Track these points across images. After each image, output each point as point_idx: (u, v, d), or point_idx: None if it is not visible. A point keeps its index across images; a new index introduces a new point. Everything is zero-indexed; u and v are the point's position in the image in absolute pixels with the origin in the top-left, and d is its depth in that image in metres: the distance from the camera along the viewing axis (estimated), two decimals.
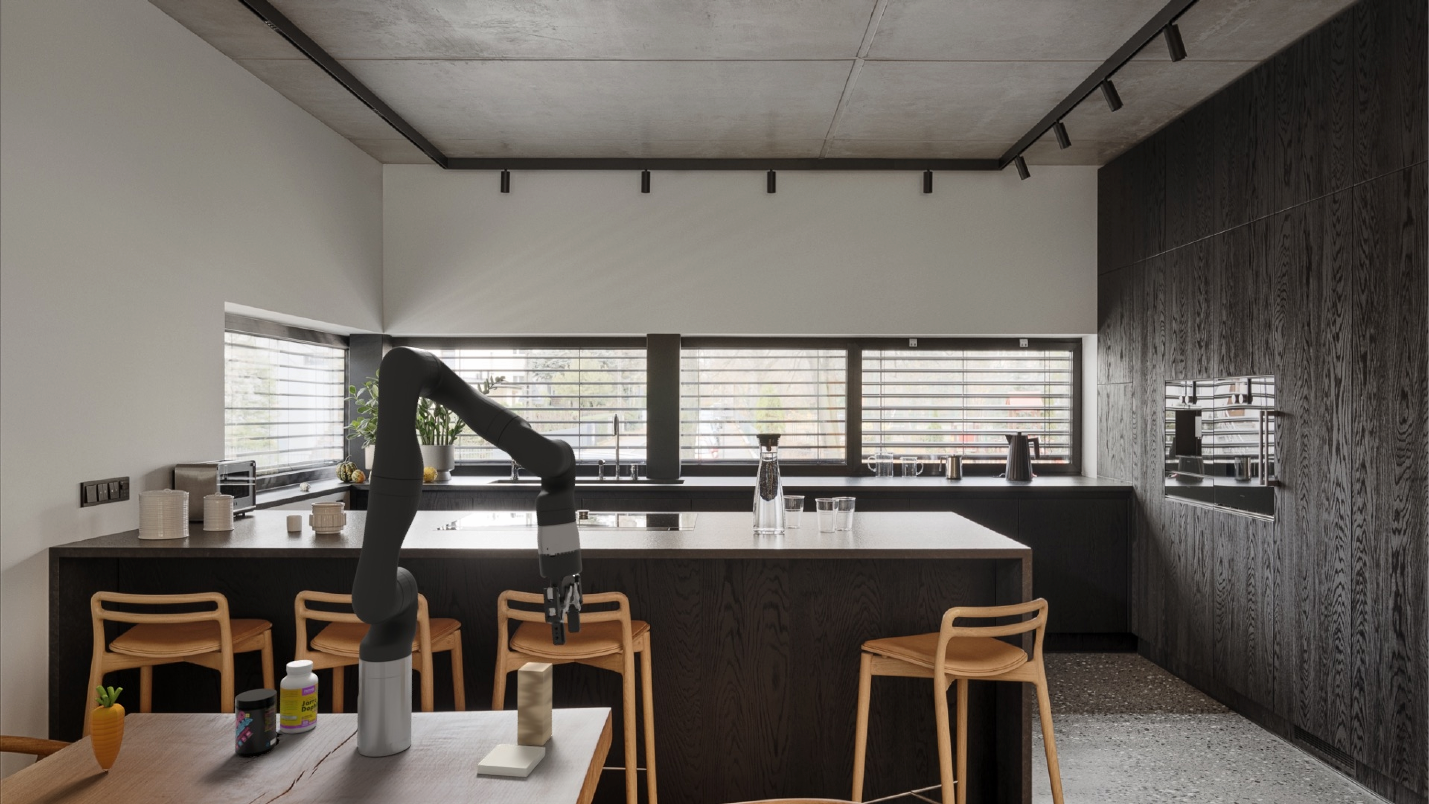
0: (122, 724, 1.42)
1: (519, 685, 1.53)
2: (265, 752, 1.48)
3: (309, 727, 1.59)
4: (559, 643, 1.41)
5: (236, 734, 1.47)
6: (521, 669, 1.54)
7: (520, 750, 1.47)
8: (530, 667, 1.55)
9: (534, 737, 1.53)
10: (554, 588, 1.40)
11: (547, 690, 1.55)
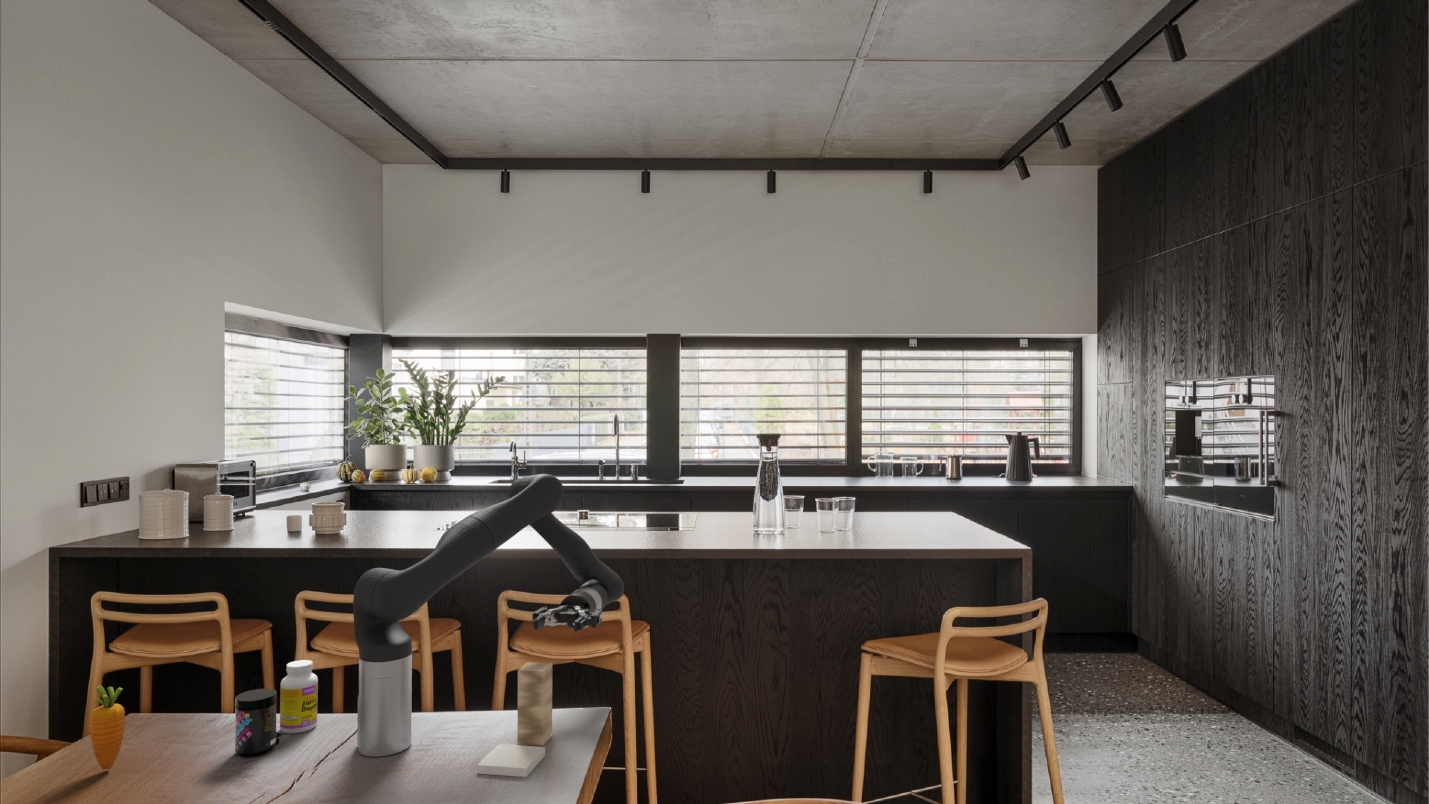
0: (122, 724, 1.42)
1: (519, 685, 1.53)
2: (265, 752, 1.48)
3: (309, 727, 1.59)
4: (577, 627, 1.66)
5: (236, 734, 1.47)
6: (521, 669, 1.54)
7: (520, 750, 1.47)
8: (530, 667, 1.55)
9: (534, 737, 1.53)
10: None
11: (547, 690, 1.55)
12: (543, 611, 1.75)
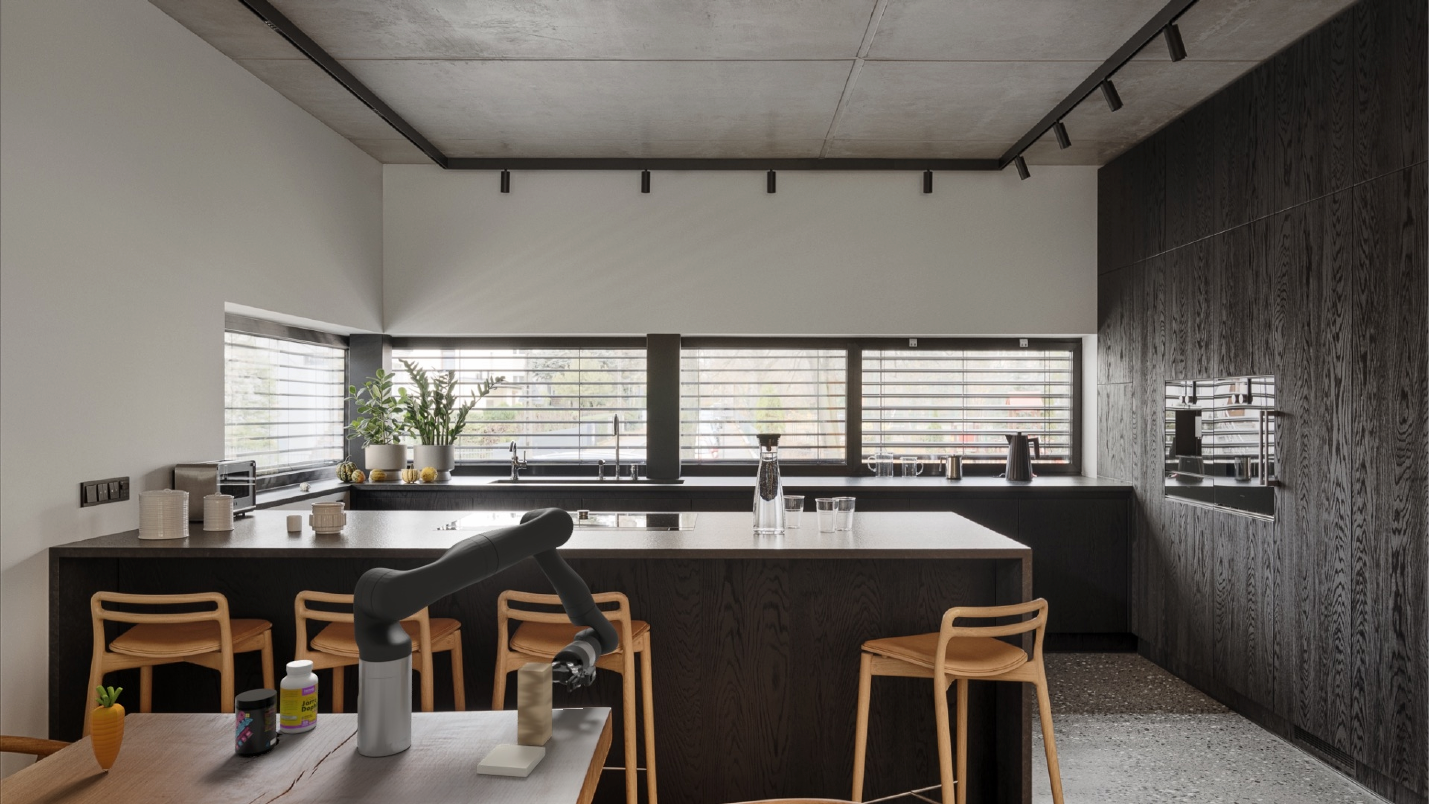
0: (122, 724, 1.42)
1: (519, 685, 1.53)
2: (265, 752, 1.48)
3: (309, 727, 1.59)
4: (570, 687, 1.62)
5: (236, 734, 1.47)
6: (521, 669, 1.54)
7: (520, 750, 1.47)
8: (530, 667, 1.55)
9: (534, 737, 1.53)
10: None
11: (547, 690, 1.55)
12: None
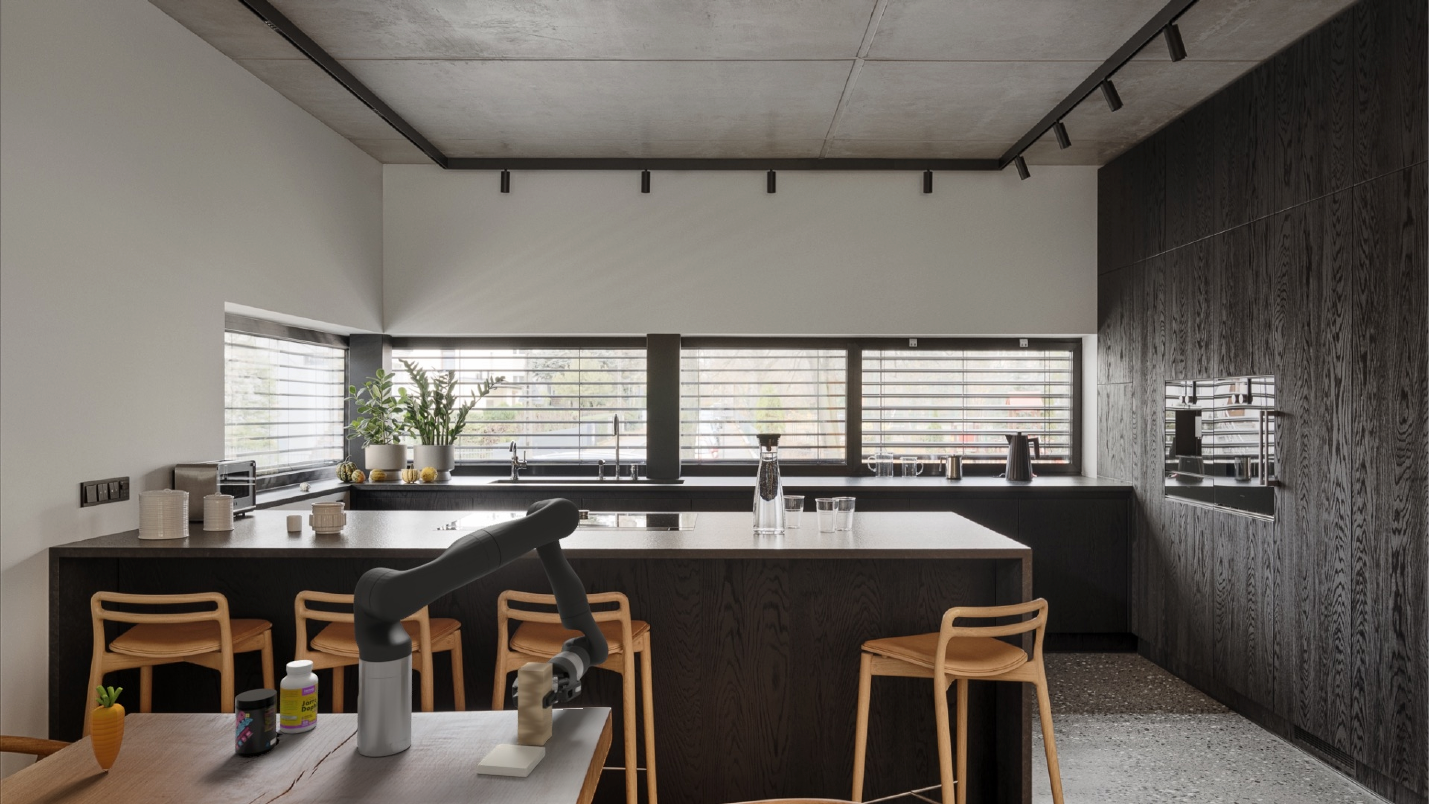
0: (122, 724, 1.42)
1: (519, 685, 1.53)
2: (265, 752, 1.48)
3: (309, 727, 1.59)
4: (546, 703, 1.52)
5: (236, 734, 1.47)
6: (521, 669, 1.54)
7: (520, 750, 1.47)
8: (530, 667, 1.55)
9: (534, 737, 1.53)
10: None
11: (547, 689, 1.55)
12: None
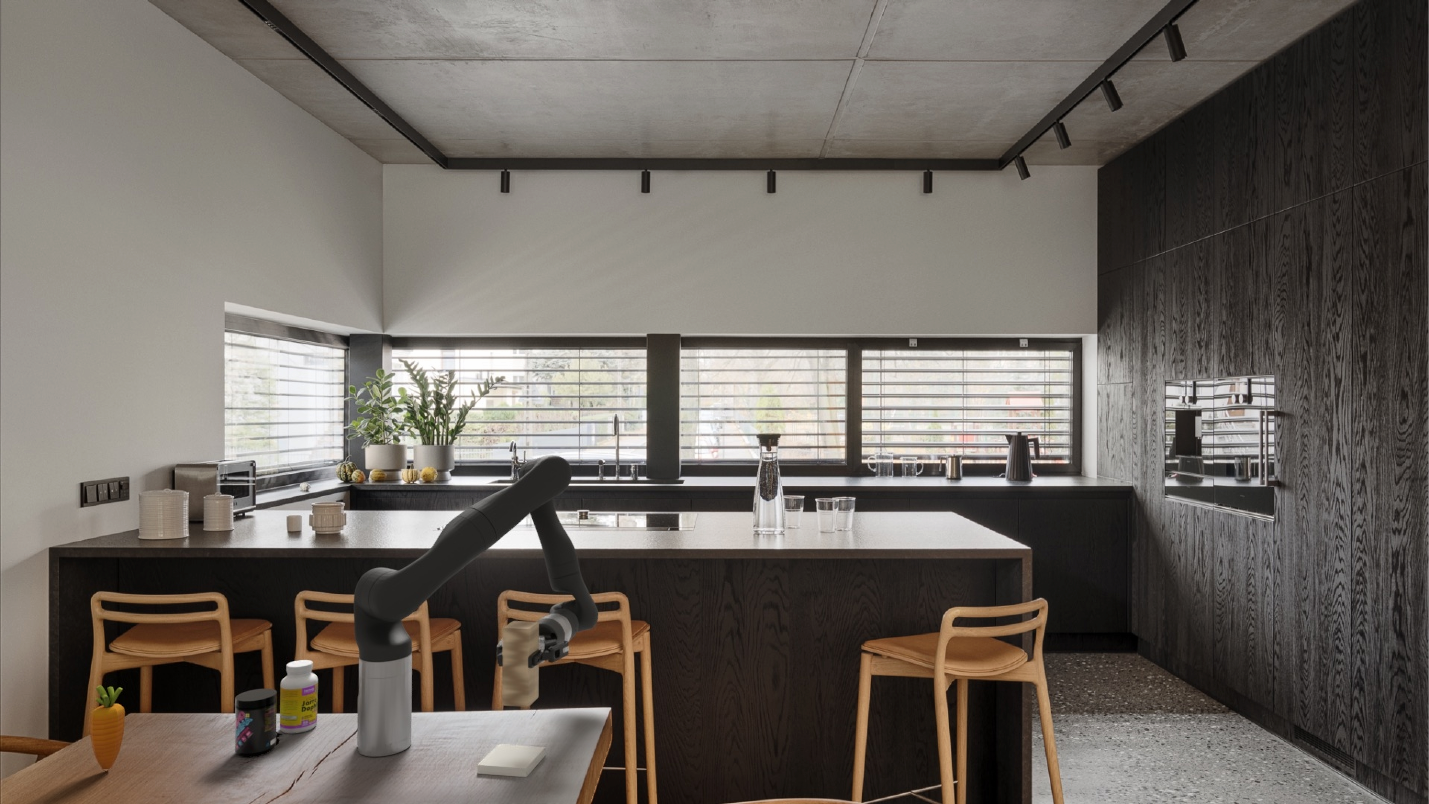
0: (122, 724, 1.42)
1: (504, 644, 1.46)
2: (265, 752, 1.48)
3: (309, 727, 1.59)
4: (532, 662, 1.46)
5: (236, 734, 1.47)
6: (506, 627, 1.47)
7: (520, 750, 1.47)
8: (515, 625, 1.48)
9: (519, 698, 1.46)
10: (568, 652, 1.55)
11: (533, 648, 1.48)
12: None
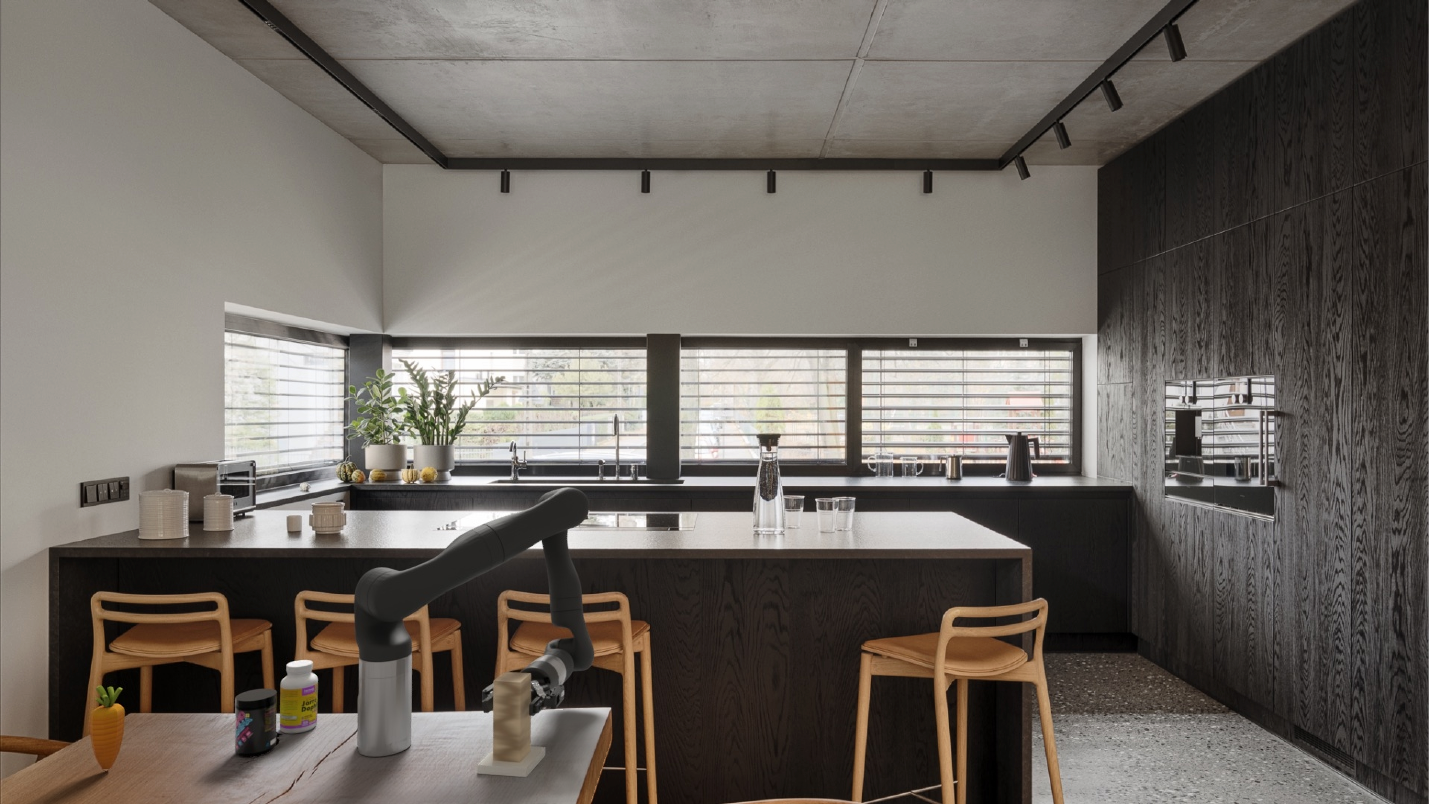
0: (122, 724, 1.42)
1: (495, 697, 1.42)
2: (265, 752, 1.48)
3: (309, 727, 1.59)
4: (533, 710, 1.42)
5: (236, 734, 1.47)
6: (497, 680, 1.43)
7: None
8: (506, 677, 1.44)
9: (511, 753, 1.42)
10: None
11: (525, 702, 1.44)
12: None
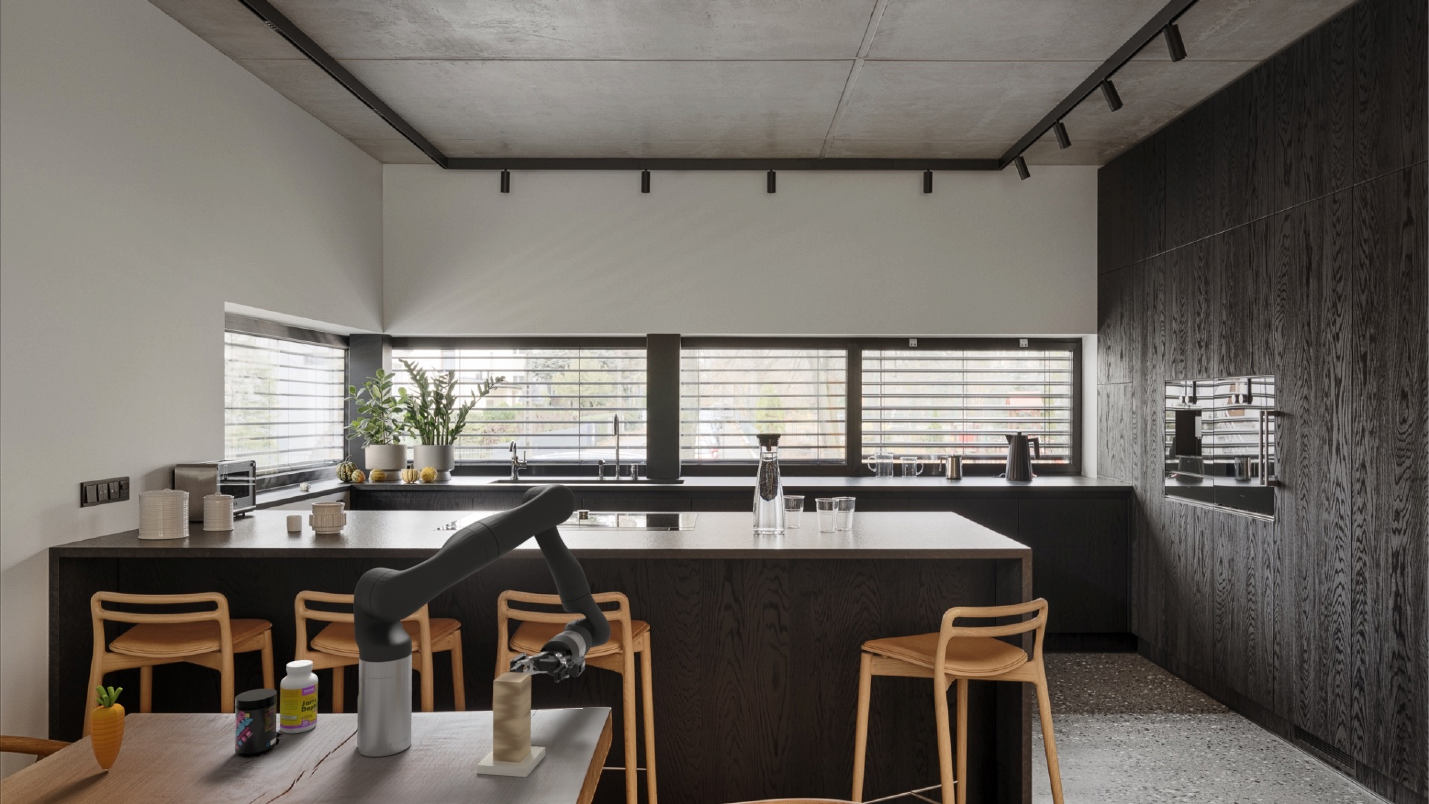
0: (122, 724, 1.42)
1: (495, 697, 1.42)
2: (265, 752, 1.48)
3: (309, 727, 1.59)
4: (558, 677, 1.55)
5: (236, 734, 1.47)
6: (497, 680, 1.43)
7: None
8: (506, 677, 1.44)
9: (511, 753, 1.42)
10: None
11: (525, 702, 1.44)
12: (522, 658, 1.64)
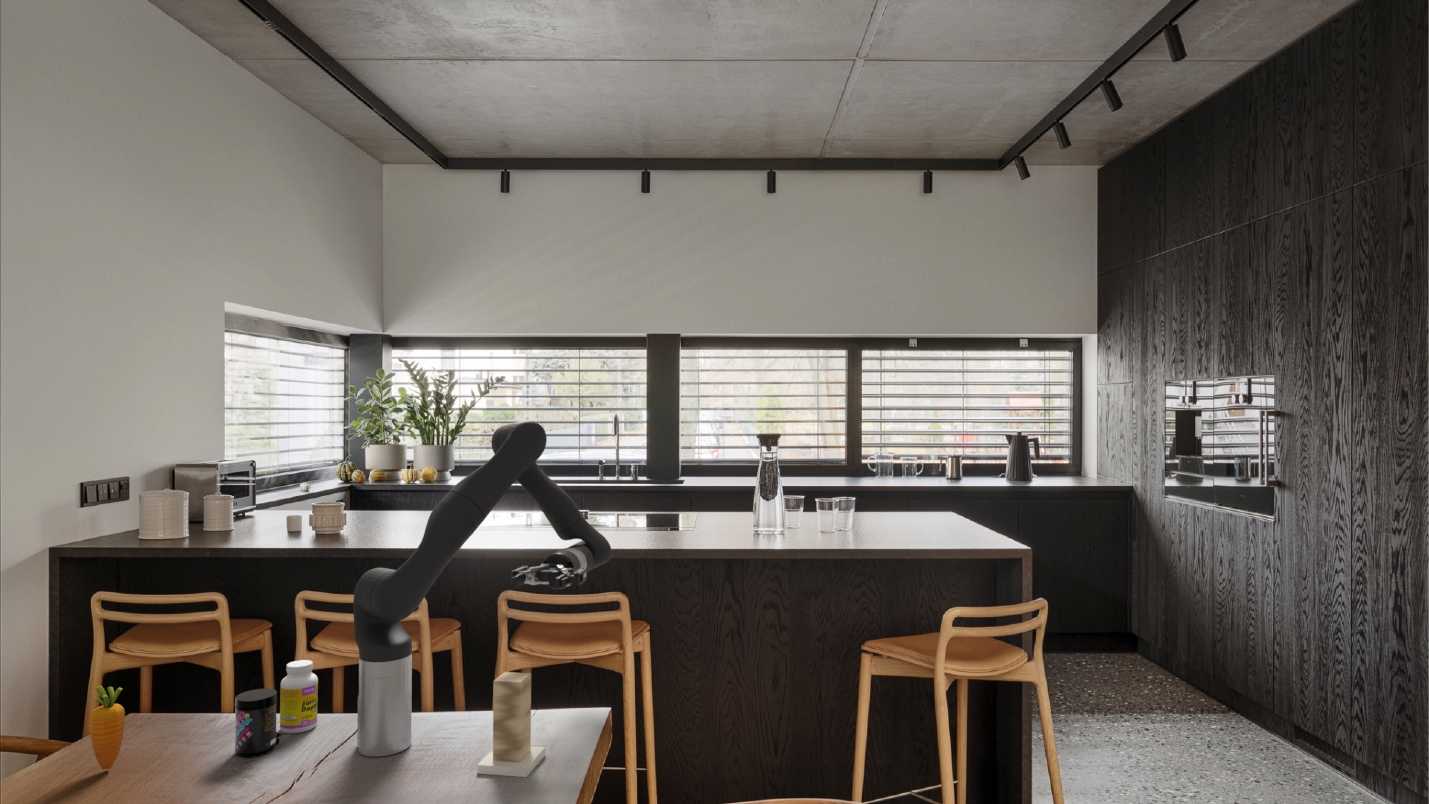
0: (122, 724, 1.42)
1: (495, 697, 1.42)
2: (265, 752, 1.48)
3: (309, 727, 1.59)
4: (559, 584, 1.55)
5: (236, 734, 1.47)
6: (497, 680, 1.43)
7: None
8: (506, 677, 1.44)
9: (511, 753, 1.42)
10: None
11: (525, 702, 1.44)
12: (523, 570, 1.65)
